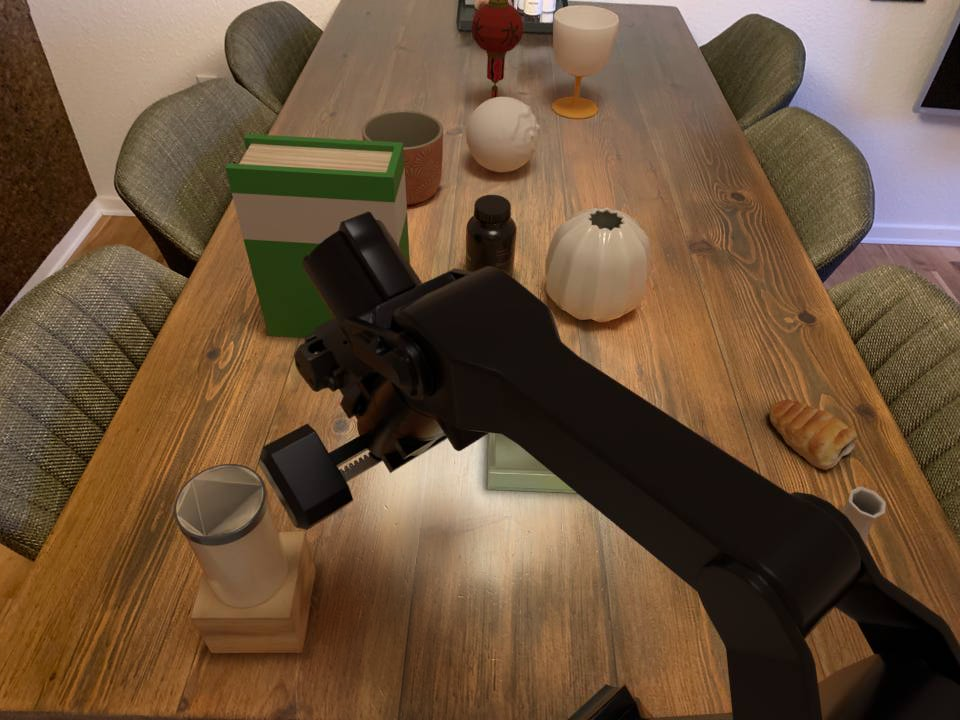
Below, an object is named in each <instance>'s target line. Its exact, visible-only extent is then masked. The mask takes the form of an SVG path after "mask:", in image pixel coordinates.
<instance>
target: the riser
mask: <svg viewBox="0 0 960 720" xmlns="http://www.w3.org/2000/svg"><path fill="white" fill-rule="evenodd" d="M279 534H280V537H281V540H282V543H283V546H284V549H285V552H286V555H287V558H288V563H289V569H288V574H287V578H286V580H285V582H284V584H283V586H282V587H281V588H280V590H279V591H278V592H277V593H276V594H275V595H274V596H273V597H271V598H270V599H269V600H267V601H265V602H264V603H261V604H259V605H256V606H253V607H248V608H237V607H232V606H228V605H226V604H224V603H223V602H221V601H220V600H219V599H218V598H217V597H216V595H215V594H214V592H213V590H212V588H211V586H210V584H209V582H208V580H207V578H206V576H205V574H204V572H203V571H202V572H203V573H202V575H201V579H200V583H199V586H198V589H197V594H196V598H195V601H194V604H193V608H192V611H191V615H190V619H191V621H192V623H193V624H194V627H195V628H196V630H197V631H198V633H199V634H200V636H201V638H202V640H203V642H204V643H205V645H206V646H207V649H208V650H209V651H210V653H211V654H302V653H303V652H304V647H305V641H306V633H307V627H308V620H309V615H310V608H311V602H312V597H313V591H314V583H315V578H316V571H317V569H316V565H315V562H314V558H313V555H312V552H311V549H310V545H309V540H308V538H307V534H306V531H279Z"/></svg>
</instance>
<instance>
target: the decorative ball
mask: <svg viewBox="0 0 960 720" xmlns="http://www.w3.org/2000/svg"><path fill="white" fill-rule="evenodd" d="M540 129H541V127H540V125H539V124H538V120H537V118H536V115H535V114H533V111H532V108H531V107H530V105H528V104H527V103H525V102H522V101H521V100H519V99H517V98H514V97H511V96H498V97H495V98H492V99H491V98H488V99H486V100H485V101H483V102H482V103H480V105H478V106H477V107H476V108H475V110H474V111H473V112H472V114H471V115H470V118H469V119H468V121H467V126H466V132H465V137H466V139H465V140H466V144H467V148H468V150H469V153H470V155H471V156H472V158H473V159H474V160H475V161H476V162H477V164H479V165H480V166H482V168H484V169H486V170H489V171H492V172H495V173H510V172H512V171H515V170H518V169H519V168H521V167H522V166H524V165H525V164H526V163H528V162H529V160H530V159H531V158H532V157H533V155H534V153H536V152H537V149H538V146H539V141H540V140H539V131H540Z"/></svg>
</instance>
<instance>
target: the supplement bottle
mask: <svg viewBox="0 0 960 720" xmlns="http://www.w3.org/2000/svg"><path fill="white" fill-rule="evenodd" d="M511 210H512V205H511V202H510V201H509V199H507V197H504V196H501V195H498V194H485V195H482V196H480V197H478V198H477V199H476V200H475V202H474V206H473V215H472V216H471V217H470V219H469V220H468V221H467V223H466V227H465V266H464V267H465V269H464V270H467V271H472V272H474V271H476V270H478V269H482V268H484V267H486V266H493V267H495V268H498V269H500V270H503V271H504V272H506V273H508V274H509V275H510V276H512V277H513V278H514V269H515V259H516V258H515V256H516V255H515V254H516V245H517V231H518V229H517V224H516V222H515V220H514V219H513V218H512V211H511Z"/></svg>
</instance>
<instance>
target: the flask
mask: <svg viewBox="0 0 960 720" xmlns="http://www.w3.org/2000/svg"><path fill="white" fill-rule="evenodd" d="M886 506H887V502H886V500H885V499H884V498H883V497H882V496H881V495H880V494H878V493H877V492H876V491H875V490H872V489H869V488H867V487H864V486H862V485H860V486H858V487H856V488H854V489H852V490H849V492H848V497H847V501H846V502H845V504H844V505H843V506H842V507H841V508H838V510H840V511H841V512H842V513H843V514H844V515H846V516H847V517H848V519H849V520H850V521H851V523H852V524H853V525H854V527H855V528H856V529H857V531H858V532H859V534H860V535H861V537H862V539H863V541H864V543H865V545H866V546H867V544H868V536H869V533H870V531H871V528H872V525H873V523H874V522H875V520H877V519H879V518H880V517H882V516H884V515H885V513H886Z"/></svg>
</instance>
